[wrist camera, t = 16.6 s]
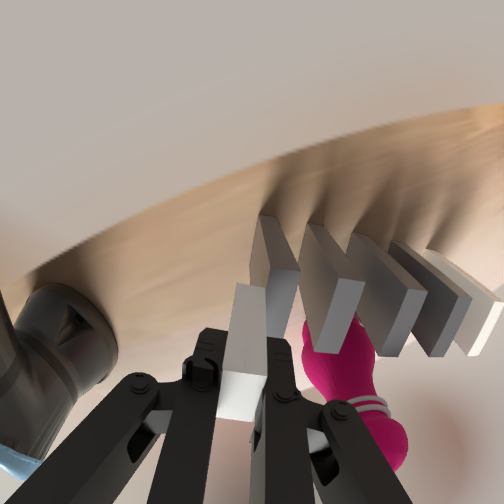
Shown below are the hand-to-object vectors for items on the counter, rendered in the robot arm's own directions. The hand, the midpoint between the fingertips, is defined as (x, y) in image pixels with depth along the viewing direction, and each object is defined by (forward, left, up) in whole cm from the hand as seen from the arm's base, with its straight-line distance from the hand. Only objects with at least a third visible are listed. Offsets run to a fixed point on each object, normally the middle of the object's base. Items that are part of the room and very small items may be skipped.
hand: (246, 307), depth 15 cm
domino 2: (+5, -1, -12) cm, 13 cm away
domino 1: (+1, 0, -12) cm, 12 cm away
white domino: (+19, -3, -12) cm, 22 cm away
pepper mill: (+9, -10, -12) cm, 18 cm away
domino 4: (+14, -2, -12) cm, 19 cm away
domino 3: (+10, -1, -12) cm, 16 cm away
